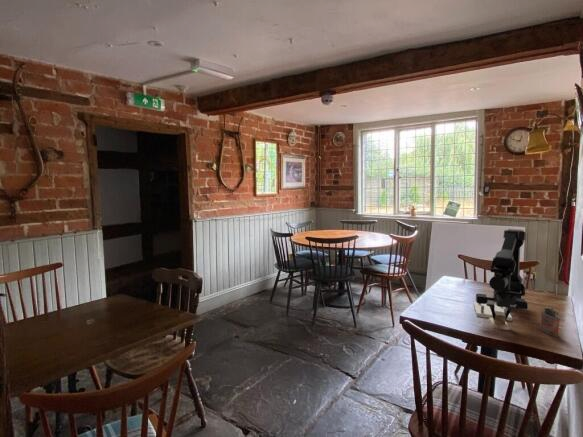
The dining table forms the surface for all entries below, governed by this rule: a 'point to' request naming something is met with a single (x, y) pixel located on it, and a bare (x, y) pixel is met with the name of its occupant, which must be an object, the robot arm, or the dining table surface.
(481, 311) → the chassis
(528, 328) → the dining table surface
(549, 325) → the reddish grey rectangular container
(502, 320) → the tan boxy piece
